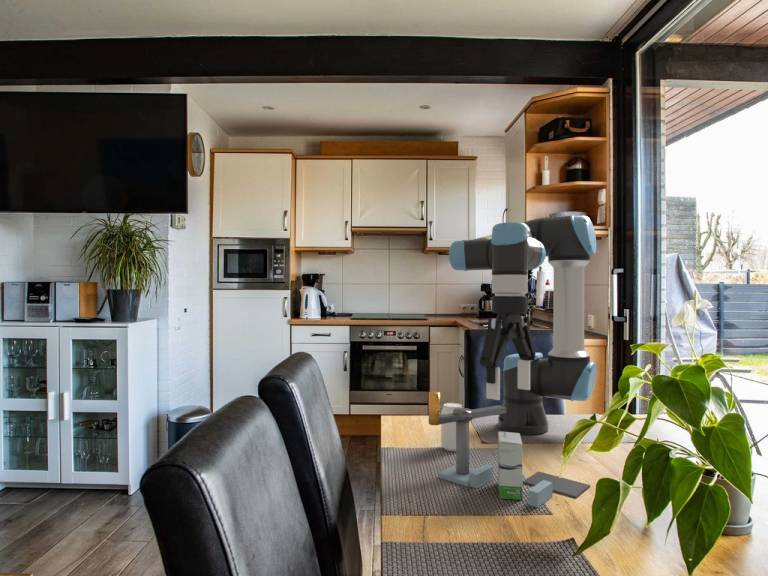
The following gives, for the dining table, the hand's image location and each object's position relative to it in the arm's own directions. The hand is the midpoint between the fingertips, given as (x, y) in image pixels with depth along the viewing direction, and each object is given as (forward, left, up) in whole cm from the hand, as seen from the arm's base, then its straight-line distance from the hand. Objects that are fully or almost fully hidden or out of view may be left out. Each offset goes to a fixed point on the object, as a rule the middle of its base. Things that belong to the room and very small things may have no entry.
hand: (509, 394), depth 107 cm
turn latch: (-2, -12, -8) cm, 14 cm away
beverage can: (-15, -25, -21) cm, 36 cm away
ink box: (0, 0, -21) cm, 21 cm away
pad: (-10, +6, -21) cm, 24 cm away
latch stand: (0, -4, -21) cm, 21 cm away
